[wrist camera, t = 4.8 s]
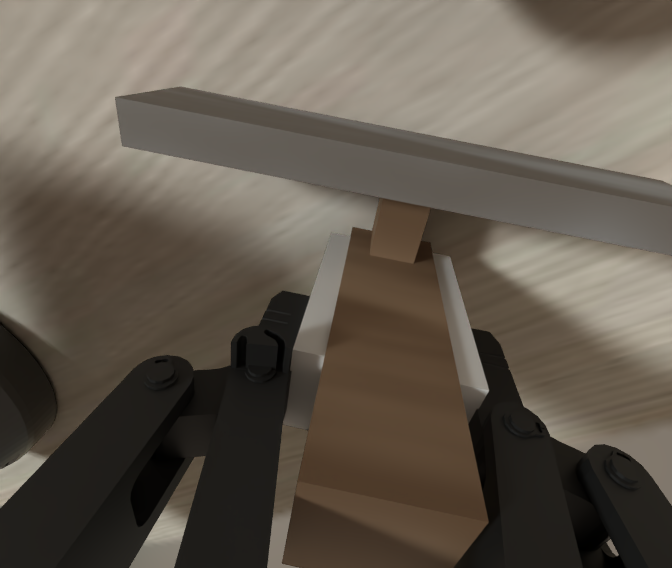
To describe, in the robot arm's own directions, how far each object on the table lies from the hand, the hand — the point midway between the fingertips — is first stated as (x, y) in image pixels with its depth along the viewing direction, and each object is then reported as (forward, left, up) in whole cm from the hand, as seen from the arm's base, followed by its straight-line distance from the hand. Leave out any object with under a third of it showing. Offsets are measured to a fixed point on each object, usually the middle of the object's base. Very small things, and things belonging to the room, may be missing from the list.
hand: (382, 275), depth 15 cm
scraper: (+2, 0, -1) cm, 2 cm away
